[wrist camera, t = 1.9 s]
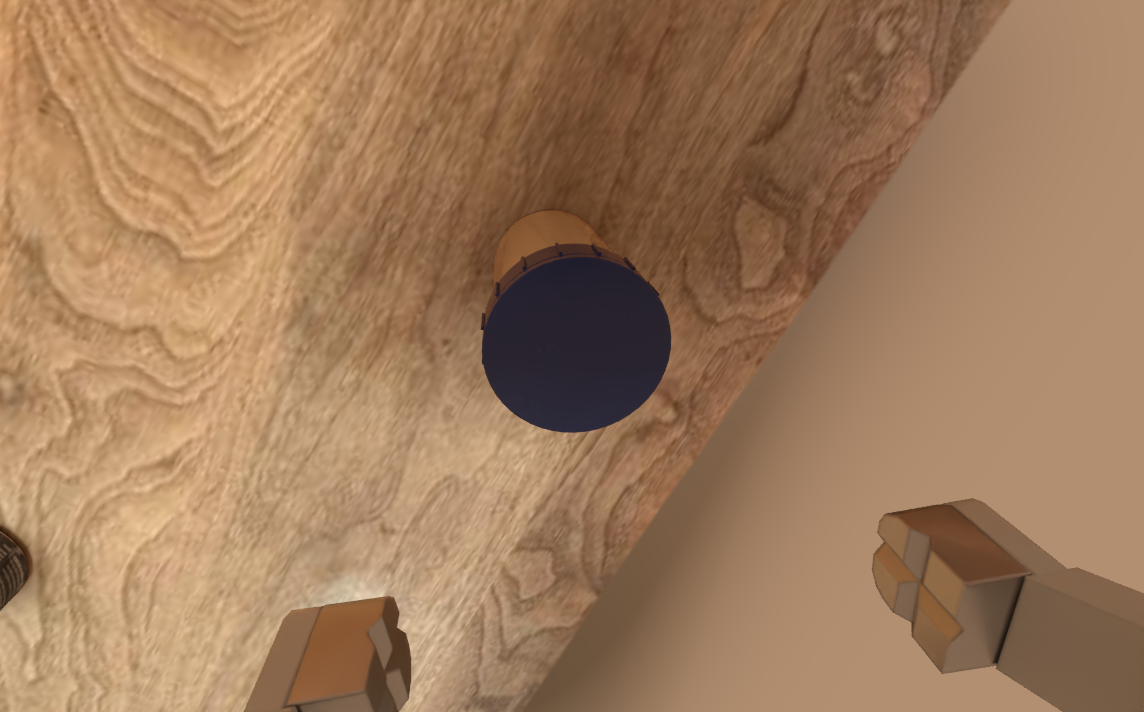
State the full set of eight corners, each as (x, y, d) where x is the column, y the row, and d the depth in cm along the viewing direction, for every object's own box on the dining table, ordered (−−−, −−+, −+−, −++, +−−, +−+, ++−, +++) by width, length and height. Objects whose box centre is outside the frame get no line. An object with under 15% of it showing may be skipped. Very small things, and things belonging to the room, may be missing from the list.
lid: (523, 211, 17) (526, 223, 16) (687, 283, 19) (706, 301, 17) (456, 374, 19) (453, 400, 18) (610, 427, 21) (620, 455, 19)
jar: (520, 190, 25) (532, 234, 16) (625, 237, 26) (687, 301, 18) (477, 297, 27) (466, 388, 18) (577, 335, 28) (613, 437, 20)
